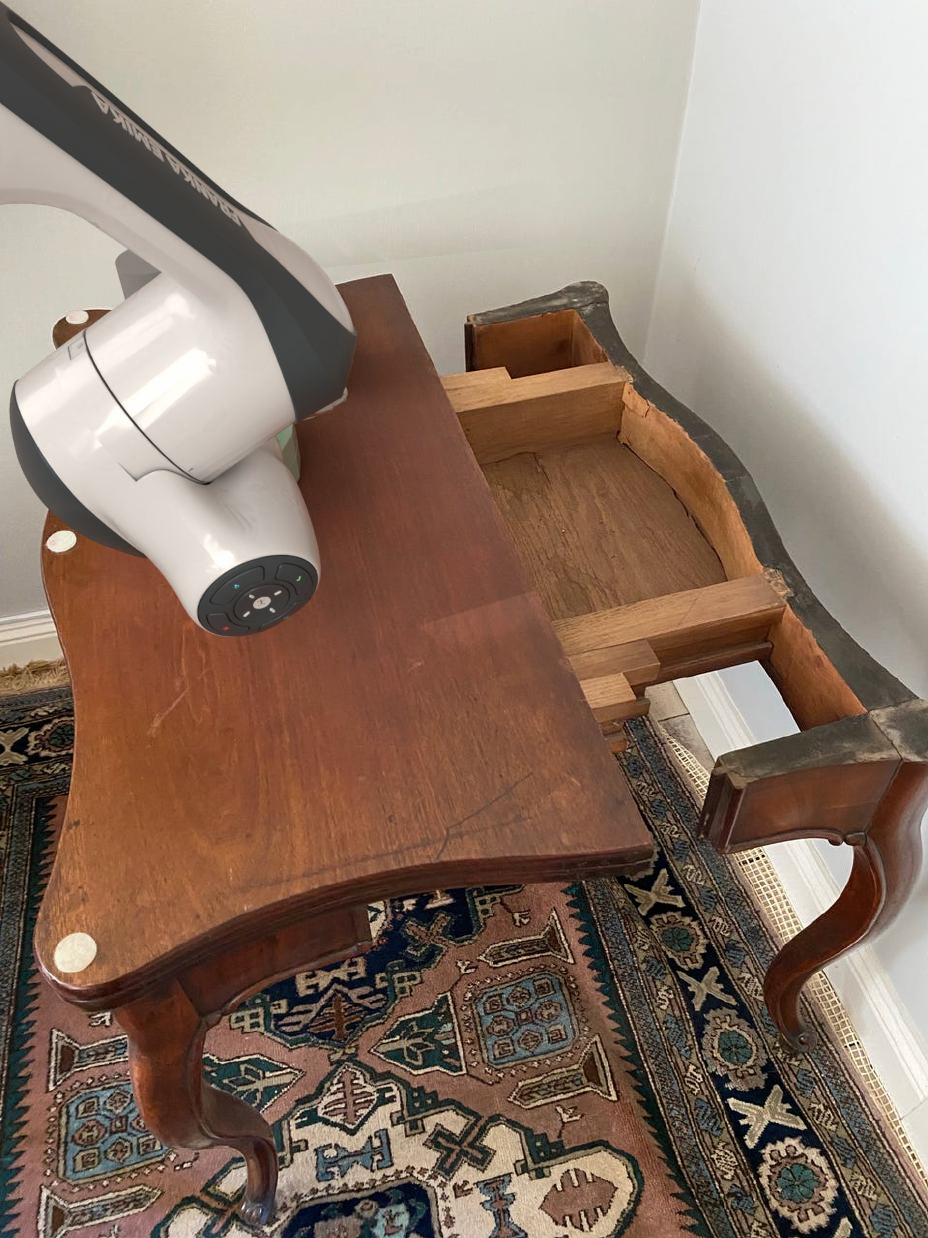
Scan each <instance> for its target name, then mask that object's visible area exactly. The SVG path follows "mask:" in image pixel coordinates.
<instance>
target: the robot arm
mask: <svg viewBox="0 0 928 1238" xmlns="http://www.w3.org/2000/svg"><path fill="white" fill-rule="evenodd" d="M16 204H17V205H22V204H23V205H24V204H25V205H28V204H29V205H39V206H48V207H52V208H56V209H61V210H64V211H67V212H69V213H72V214H73V215H76V216H78V217H80V218H81V219H83V220H84V221H86V222H87V223H89V224H90V225H92V226H93V227H94V228H96V229H98V230H99V231H101V232H102V233H104V235H107V236H108V237H109V238H111V240H112V239H113V240H114V241H116V242H117V243H118V244H120V245H121V246H122V247H124V248H125V249H126V250H130V251H131V252H133V253H134V254H136V255H137V256H139V257H140V258H142V259H143V260H144V261H146V262H147V263H149V264H150V265H152V266H153V267H155V268H156V269H158V270H159V271H161V272H162V273H160V274H159V275H158V276H157V277H156V278H154V279H153V280H151V281H150V282H149V283H147V284H146V285H145V286H143V287H142V288H141V289H139V290H138V291H137V292H135V293H134V294H133V295H131V296H130V297H129V298H127V299H126V300H125V299H124V300H123V301H122V302H120V303H119V304H118V305H117V306H115V307H114V308H113V309H111V310H110V311H108V312H107V313H106V314H105V315H103V316H102V317H100V318H99V319H98V320H96V321H95V322H94V323H92V324H91V325H89V326H87V327H85V328H83V329H82V330H80V331H79V332H78V333H76V334H75V335H73V336H72V337H71V338H69V340H67V341H65V343H63V344H61V345H60V346H59V347H58V348H56V349H55V350H54V351H52V352H51V353H50V354H49V355H47V356H46V357H45V358H43V359H42V360H41V361H40V362H38V363H37V364H36V365H35V366H33V367H32V368H30V370H29V371H27V372H26V373H24V374H23V376H21V377H20V378H19V379H16V380H15V381H14V383H13V385H12V387H11V393H10V398H9V407H8V409H9V413H8V414H9V424H10V426H9V427H10V433H11V437H12V442H13V445H14V450H15V454H16V458H17V460H18V464H19V466H20V468H21V471H22V474H23V475H24V478H25V479H26V480H27V482H28V484H29V486H30V487H31V489H32V490H33V492H34V493H35V495H36V496H37V498H38V499H39V500H40V502H41V503H42V504H43V505H44V506H45V507H46V508H47V509H48V510H49V512H51V514H53V515H54V516H55V517H56V518H58V519H59V520H60V521H61V522H63V523H64V524H65V525H66V526H68V528H70V529H72V530H73V531H74V532H76V533H78V534H79V535H81V536H83V537H84V538H86V539H87V540H89V541H92V542H94V543H96V544H98V545H100V546H103V547H106V548H110V549H111V550H115V551H118V552H120V553H124V554H126V555H129V556H133V557H136V558H141V559H147V560H149V561H150V562H151V563H152V564H153V565H154V566H155V567H156V569H158V571H159V572H160V573H161V574H162V576H163V577H164V578H165V579H166V581H167V582H168V584H169V585H170V586H171V589H172V590H173V591H174V593H175V595H176V597H177V598H178V600H179V602H180V604H181V605H182V607H183V610H185V613H186V614H187V615H188V616H189V617H190V619H191V620H192V621H193V622H194V623H195V624H196V625H197V626H198V627H200V628H201V629H203V630H204V631H205V632H207V633H209V634H212V635H214V636H219V637H226V638H242V637H248V636H253V635H257V634H259V633H263V632H266V631H268V630H270V629H273V628H274V627H276V626H278V625H280V624H282V622H284V621H287V619H289V618H291V617H292V616H293V615H295V614H296V613H298V612H299V611H300V610H301V609H303V608H304V607H305V606H306V605H307V603H309V602H310V601H311V600H312V598H313V597H314V596H315V594H316V592H317V590H318V587H319V584H320V581H321V575H322V564H321V556H320V549H319V545H318V541H317V537H316V532H315V528H314V526H313V525H314V524H313V523H312V520H311V515H310V513H309V510H308V507H307V504H306V502H305V499H304V497H303V494H302V492H301V489H300V487H299V484H298V482H296V480H295V478H294V476H293V475H292V473H291V472H290V470H289V469H288V468H287V467H286V466H285V464H283V454H282V450H281V447H280V444H279V441H278V439H277V437H276V435H277V434H279V433H280V432H281V431H283V430H284V429H286V428H287V427H289V426H290V425H291V424H293V423H294V424H295V425H297V424H299V423H300V422H303V421H307V420H310V419H314V418H320V417H324V416H327V415H330V414H332V413H333V412H334V411H335V410H334V408H336V407H338V406H340V405H342V404H343V403H344V402H346V401H347V398H348V395H349V394H348V393H349V392H348V388H347V384H348V381H349V378H350V374H351V370H352V367H353V363H354V358H355V352H356V348H357V347H356V346H357V339H358V332H357V330H356V327H355V326H354V324H353V321H352V320H353V319H352V317H351V315H350V312H349V309H348V306H347V307H346V305H347V303H346V304H345V303H344V301H343V299H342V297H341V295H340V293H339V291H340V290H339V289H338V290H339V291H338V290H337V288H338V287H337V286H336V285H335V284H334V282H333V281H332V279H331V278H330V277H329V275H328V274H327V272H326V271H325V270H324V269H323V268H322V267H321V265H320V264H319V263H318V261H316V260H315V258H313V256H312V255H310V254H309V252H307V251H306V249H304V248H303V247H301V246H300V245H298V244H297V243H296V242H295V241H293V240H292V239H290V238H289V237H287V236H286V235H284V234H282V233H281V232H280V231H278V230H277V228H275V227H274V226H273V225H272V224H270V223H269V222H268V221H266V220H265V219H264V218H262V217H261V216H259V215H258V214H256V213H255V212H254V211H252V210H251V209H249V208H248V207H246V206H245V205H243V204H242V203H241V202H239V201H238V200H237V199H236V198H234V197H233V196H232V195H230V193H228V191H226V190H225V189H224V188H222V187H221V186H220V185H218V183H216V182H215V181H214V180H212V178H210V177H209V176H208V175H207V174H206V173H205V172H203V171H202V170H201V169H200V168H199V167H197V165H195V163H194V162H192V161H191V160H190V159H188V157H186V156H185V155H184V154H183V153H182V152H181V151H180V150H178V149H177V148H176V147H175V146H174V145H173V144H171V143H170V142H169V140H167V139H166V138H164V136H162V135H161V134H160V133H159V132H157V130H155V129H154V128H153V127H152V126H151V125H149V123H147V122H146V121H145V120H144V119H142V118H141V116H139V115H138V114H137V113H136V112H134V110H132V109H131V108H130V107H129V106H128V105H126V103H124V102H123V101H122V100H121V99H119V97H118V96H116V94H114V93H113V92H111V91H110V90H109V89H108V88H107V87H106V86H105V85H104V84H102V83H101V82H100V81H99V80H98V79H96V78H95V77H94V76H93V75H92V74H91V73H89V72H88V71H87V70H86V69H84V68H83V67H82V66H81V65H80V64H79V63H77V62H76V60H74V59H73V58H71V57H70V56H69V55H68V54H66V53H65V52H64V51H63V50H62V49H60V48H59V47H58V46H57V45H56V44H54V43H53V42H52V41H51V40H49V38H47V37H46V36H45V35H44V34H42V33H41V32H40V31H39V30H38V29H37V28H35V27H34V26H33V25H31V24H30V23H29V22H28V21H27V20H25V19H24V17H22V16H21V15H19V14H18V13H16V12H15V11H14V10H13V9H12V8H11V7H9V6H7V5H6V3H4V2H3V1H1V0H0V206H1V205H16ZM335 286H336V287H337V288H336V287H335Z"/></svg>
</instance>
